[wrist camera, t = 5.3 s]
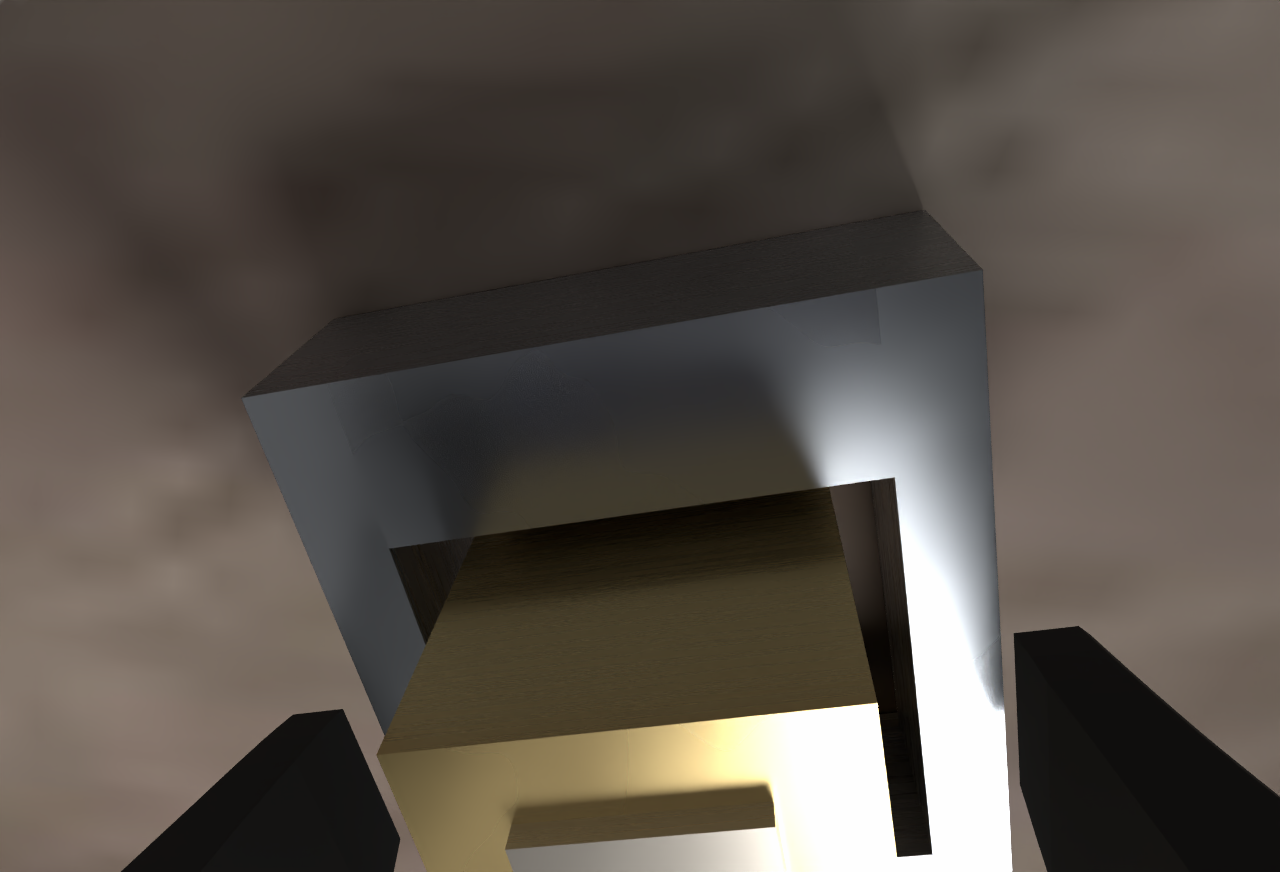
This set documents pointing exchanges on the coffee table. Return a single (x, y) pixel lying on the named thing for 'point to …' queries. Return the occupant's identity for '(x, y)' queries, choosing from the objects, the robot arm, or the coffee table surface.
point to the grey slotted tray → (680, 459)
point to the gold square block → (648, 701)
